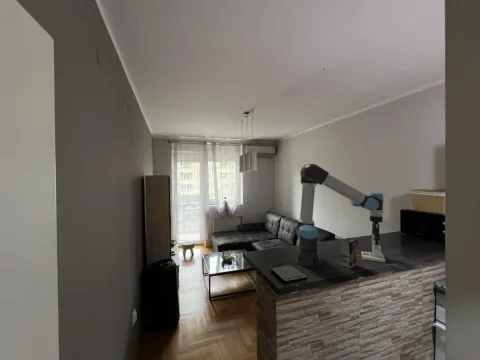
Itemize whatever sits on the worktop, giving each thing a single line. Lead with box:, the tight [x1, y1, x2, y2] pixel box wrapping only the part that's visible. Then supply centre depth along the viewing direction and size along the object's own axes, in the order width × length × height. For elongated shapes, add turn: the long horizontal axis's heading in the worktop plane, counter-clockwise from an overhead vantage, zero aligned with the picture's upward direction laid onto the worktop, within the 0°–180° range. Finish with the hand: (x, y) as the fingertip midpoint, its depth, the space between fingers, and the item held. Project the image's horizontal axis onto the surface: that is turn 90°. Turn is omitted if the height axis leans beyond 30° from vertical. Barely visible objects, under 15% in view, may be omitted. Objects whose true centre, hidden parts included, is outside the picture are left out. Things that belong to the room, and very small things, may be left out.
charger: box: [371, 244, 382, 258], centre depth 151 cm, size 4×4×8 cm
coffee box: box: [340, 237, 359, 269], centre depth 139 cm, size 9×6×16 cm
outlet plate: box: [360, 251, 386, 263], centre depth 151 cm, size 13×12×2 cm
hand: (375, 246), depth 151 cm, fingers open, 13 cm apart
